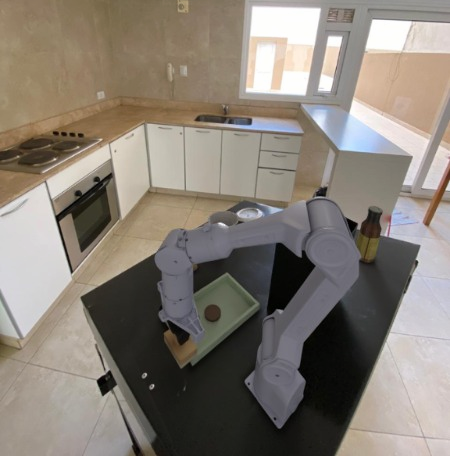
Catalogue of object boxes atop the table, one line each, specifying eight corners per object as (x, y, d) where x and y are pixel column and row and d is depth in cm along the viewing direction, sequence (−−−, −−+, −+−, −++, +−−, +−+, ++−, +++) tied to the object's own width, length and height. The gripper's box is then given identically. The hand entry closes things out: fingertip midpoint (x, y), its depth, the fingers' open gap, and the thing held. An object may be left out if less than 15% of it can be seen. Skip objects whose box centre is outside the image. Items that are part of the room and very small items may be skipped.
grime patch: (224, 315, 67) (224, 313, 66) (211, 325, 64) (211, 323, 64) (214, 303, 70) (214, 301, 69) (201, 312, 67) (201, 310, 67)
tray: (259, 310, 69) (259, 303, 68) (192, 367, 56) (192, 360, 55) (226, 278, 78) (227, 272, 77) (163, 320, 65) (162, 313, 64)
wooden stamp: (197, 355, 53) (197, 327, 50) (180, 369, 51) (179, 341, 48) (179, 329, 58) (179, 302, 55) (164, 340, 56) (162, 313, 53)
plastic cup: (223, 231, 99) (224, 205, 95) (243, 246, 92) (245, 219, 87) (201, 244, 92) (201, 216, 88) (220, 261, 85) (222, 232, 80)
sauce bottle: (374, 255, 90) (389, 208, 83) (372, 266, 85) (389, 217, 78) (354, 248, 94) (367, 201, 86) (351, 258, 89) (365, 210, 81)
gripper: (142, 274, 51) (146, 321, 56) (179, 331, 41) (181, 382, 46) (173, 258, 55) (175, 302, 60) (214, 305, 45) (212, 354, 50)
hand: (179, 335), depth 53 cm, fingers closed on wooden stamp, 2 cm apart
